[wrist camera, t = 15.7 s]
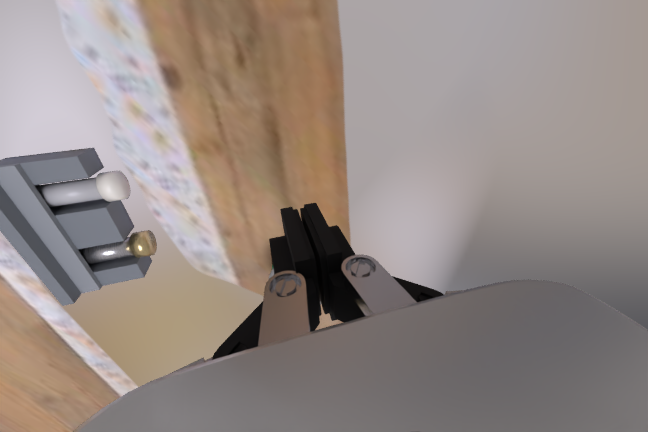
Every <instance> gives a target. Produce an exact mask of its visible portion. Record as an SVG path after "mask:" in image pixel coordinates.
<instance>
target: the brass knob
mask: <svg viewBox="0 0 648 432" xmlns="http://www.w3.org/2000/svg"><path fill="white" fill-rule="evenodd" d="M156 246H157V245H156V239H155V237H154V235H153V233H152V232H151V231H149V230H148V231H142V232H136V233H133V234H132V235H131V236H130V237H127V238H126V239H125V240H124V241H121V242H116V243H110V244H105V245H99V246H93V247H88V248H82V249H78V251H79V252H80V254H81V255H82V257H83V258H84V259H85V261H86V262H87V264H92V263H97V262H102V261H108V260H113V259H118V258H123V257H128V256H135V257H137V258H140V257H145V256H150V255H154V254H155V252H156V248H157V247H156Z"/></svg>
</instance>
